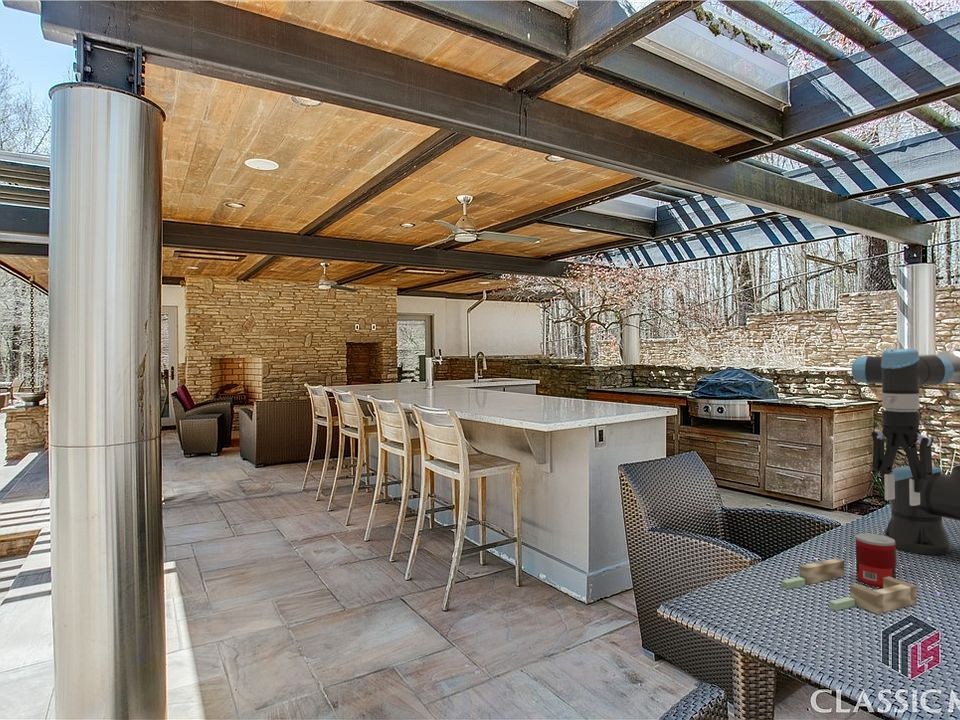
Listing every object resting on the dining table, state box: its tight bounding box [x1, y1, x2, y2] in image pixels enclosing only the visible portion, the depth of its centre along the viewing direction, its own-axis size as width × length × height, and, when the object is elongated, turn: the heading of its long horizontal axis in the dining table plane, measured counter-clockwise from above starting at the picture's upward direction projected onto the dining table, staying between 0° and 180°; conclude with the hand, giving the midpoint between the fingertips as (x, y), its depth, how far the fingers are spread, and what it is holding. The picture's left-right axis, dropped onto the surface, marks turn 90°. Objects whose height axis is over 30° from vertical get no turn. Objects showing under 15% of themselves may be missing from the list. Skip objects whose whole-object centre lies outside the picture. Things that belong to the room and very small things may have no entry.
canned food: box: [855, 532, 897, 589], centre depth 138 cm, size 8×8×11 cm
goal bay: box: [781, 576, 856, 612], centre depth 131 cm, size 6×14×2 cm, turn 20°
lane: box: [798, 557, 918, 615], centre depth 133 cm, size 13×19×4 cm
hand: (902, 501), depth 142 cm, fingers open, 5 cm apart
